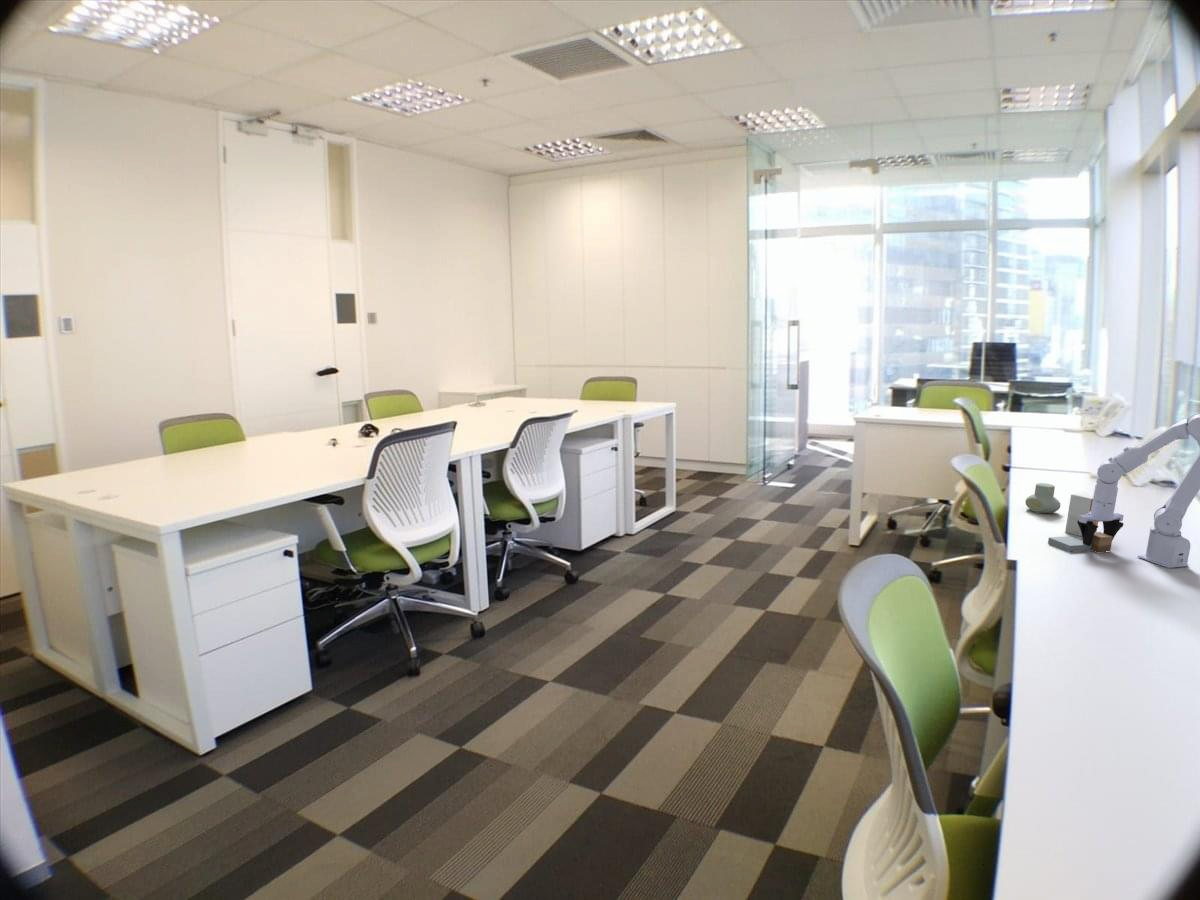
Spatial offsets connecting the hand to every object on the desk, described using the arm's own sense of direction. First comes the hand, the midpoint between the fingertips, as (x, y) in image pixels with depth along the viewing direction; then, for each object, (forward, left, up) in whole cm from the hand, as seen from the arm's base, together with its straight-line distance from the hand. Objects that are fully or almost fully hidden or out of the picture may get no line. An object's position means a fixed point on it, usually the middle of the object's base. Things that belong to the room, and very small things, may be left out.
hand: (1096, 544), depth 223 cm
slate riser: (+4, +6, -3) cm, 8 cm away
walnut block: (0, 0, -2) cm, 2 cm away
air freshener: (+39, -18, -2) cm, 43 cm away
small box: (+15, -10, -2) cm, 18 cm away
